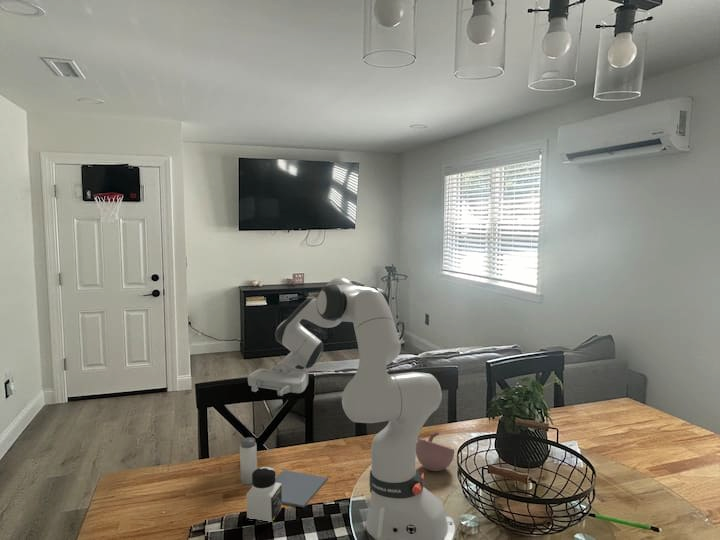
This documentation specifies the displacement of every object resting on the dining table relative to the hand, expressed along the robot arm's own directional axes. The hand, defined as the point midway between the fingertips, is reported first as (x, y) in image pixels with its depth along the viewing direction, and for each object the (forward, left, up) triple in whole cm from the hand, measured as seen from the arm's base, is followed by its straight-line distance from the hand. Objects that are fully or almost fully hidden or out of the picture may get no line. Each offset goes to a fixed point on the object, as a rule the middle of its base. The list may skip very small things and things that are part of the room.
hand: (266, 391), depth 155 cm
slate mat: (-15, +12, -24) cm, 31 cm away
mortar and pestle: (-52, -13, -24) cm, 59 cm away
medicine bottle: (-14, +26, -24) cm, 38 cm away
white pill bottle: (0, +12, -24) cm, 27 cm away
